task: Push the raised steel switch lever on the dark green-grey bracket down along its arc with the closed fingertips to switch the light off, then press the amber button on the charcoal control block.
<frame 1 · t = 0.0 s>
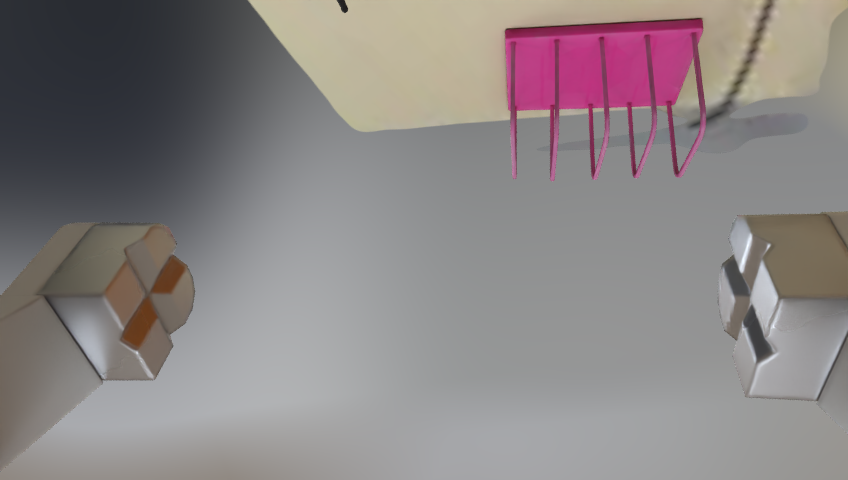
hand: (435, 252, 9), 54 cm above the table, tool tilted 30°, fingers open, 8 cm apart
file sorter: (594, 62, 92), on the table
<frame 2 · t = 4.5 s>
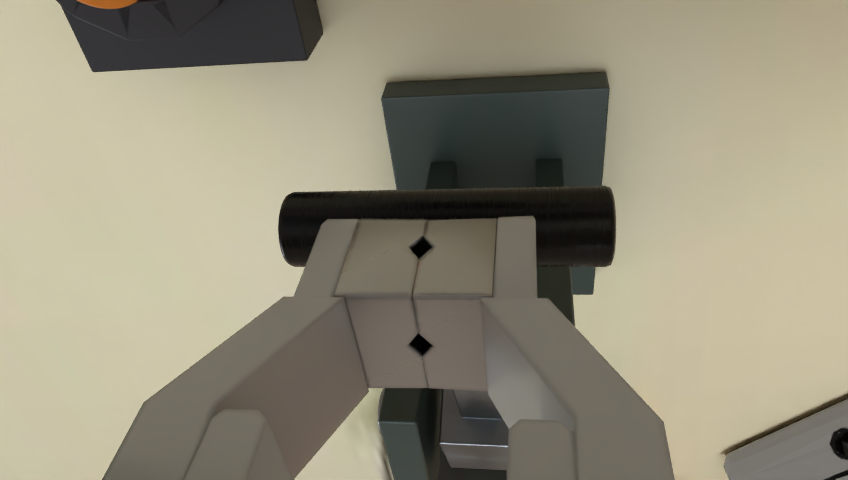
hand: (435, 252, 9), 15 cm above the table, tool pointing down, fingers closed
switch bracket: (498, 188, 27), on the table
switch lever: (472, 356, 14), point 12 cm above the table, hinge at 18.2°, touching gripper
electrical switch: (825, 434, 35), on the table
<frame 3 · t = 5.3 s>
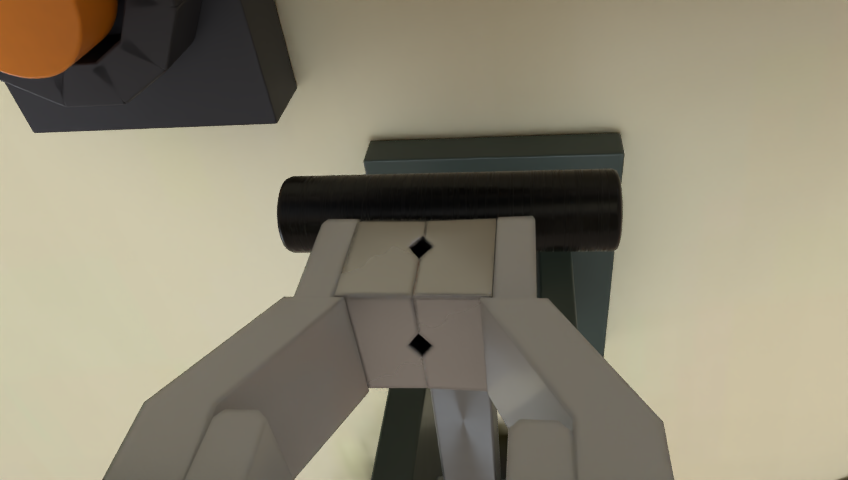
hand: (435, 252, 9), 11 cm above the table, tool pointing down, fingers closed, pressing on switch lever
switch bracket: (497, 252, 24), on the table
switch lever: (469, 436, 13), point 11 cm above the table, hinge at -4.3°, touching gripper
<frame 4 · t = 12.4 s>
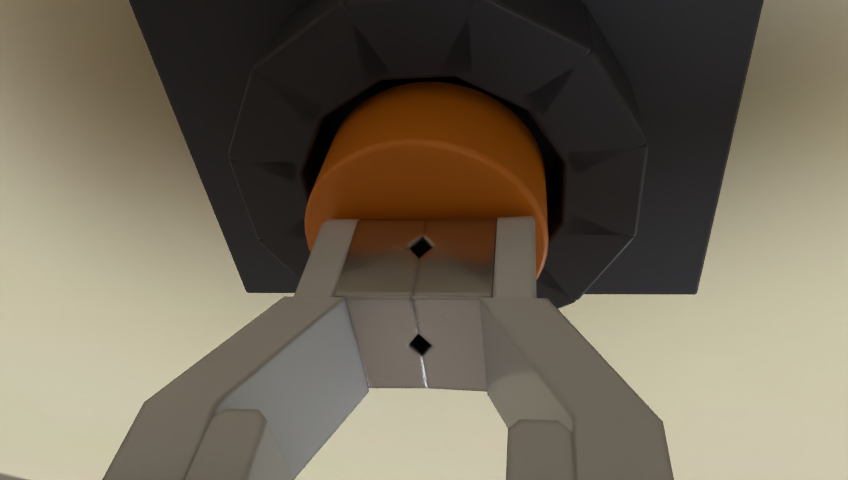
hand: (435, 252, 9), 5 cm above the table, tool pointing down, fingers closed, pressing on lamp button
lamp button: (430, 210, 10), point 4 cm above the table, slide at -0.1 cm, touching gripper
control block: (452, 82, 13), on the table
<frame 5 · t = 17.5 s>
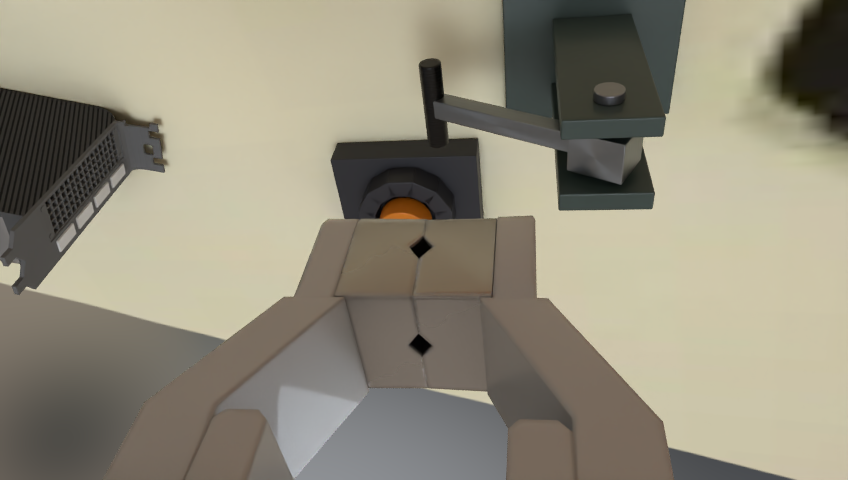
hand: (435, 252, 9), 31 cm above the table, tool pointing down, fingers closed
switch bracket: (588, 48, 39), on the table
switch lever: (520, 125, 33), point 9 cm above the table, hinge at -28.7°
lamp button: (404, 225, 44), point 4 cm above the table, slide at 0.1 cm
control block: (413, 187, 47), on the table
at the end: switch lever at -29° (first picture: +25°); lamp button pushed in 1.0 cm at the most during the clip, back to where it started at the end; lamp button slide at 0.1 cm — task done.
